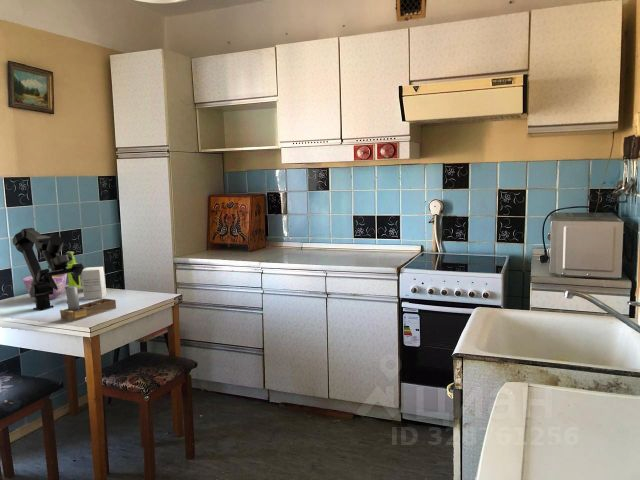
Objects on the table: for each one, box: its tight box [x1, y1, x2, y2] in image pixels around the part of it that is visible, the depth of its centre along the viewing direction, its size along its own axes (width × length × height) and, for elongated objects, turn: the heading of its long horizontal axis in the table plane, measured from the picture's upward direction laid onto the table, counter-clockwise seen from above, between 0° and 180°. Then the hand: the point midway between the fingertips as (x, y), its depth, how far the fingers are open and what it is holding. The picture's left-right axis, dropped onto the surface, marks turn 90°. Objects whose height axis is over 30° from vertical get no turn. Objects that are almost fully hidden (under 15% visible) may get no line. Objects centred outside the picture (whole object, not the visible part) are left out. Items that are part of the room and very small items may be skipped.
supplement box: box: [80, 266, 107, 301], centre depth 261 cm, size 9×9×15 cm
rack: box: [59, 298, 117, 322], centre depth 229 cm, size 8×22×4 cm, turn 151°
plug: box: [65, 286, 80, 311], centre depth 223 cm, size 4×4×13 cm
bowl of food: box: [22, 273, 68, 301], centre depth 265 cm, size 20×20×12 cm
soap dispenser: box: [66, 251, 82, 288], centre depth 291 cm, size 6×7×20 cm
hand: (68, 287), depth 224 cm, fingers open, 9 cm apart
